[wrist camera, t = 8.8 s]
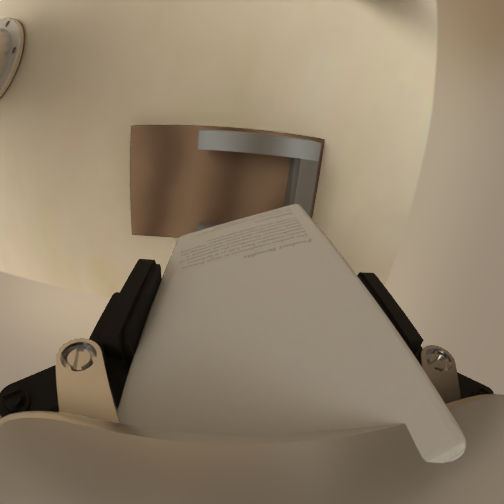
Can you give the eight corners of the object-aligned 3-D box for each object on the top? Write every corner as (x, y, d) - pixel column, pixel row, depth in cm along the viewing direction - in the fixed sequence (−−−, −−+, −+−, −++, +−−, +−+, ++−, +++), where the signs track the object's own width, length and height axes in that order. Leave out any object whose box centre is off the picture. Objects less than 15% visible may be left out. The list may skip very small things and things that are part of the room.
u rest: (136, 229, 29) (118, 252, 24) (136, 125, 24) (114, 127, 19) (303, 240, 31) (316, 265, 26) (320, 138, 26) (339, 143, 21)
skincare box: (207, 303, 15) (191, 543, 4) (175, 229, 13) (78, 508, 2) (318, 273, 15) (416, 503, 4) (302, 192, 13) (480, 452, 2)
